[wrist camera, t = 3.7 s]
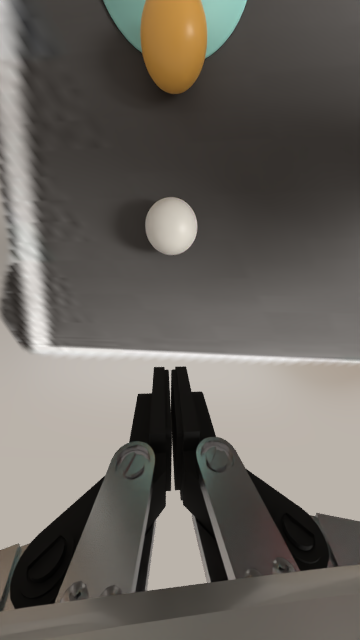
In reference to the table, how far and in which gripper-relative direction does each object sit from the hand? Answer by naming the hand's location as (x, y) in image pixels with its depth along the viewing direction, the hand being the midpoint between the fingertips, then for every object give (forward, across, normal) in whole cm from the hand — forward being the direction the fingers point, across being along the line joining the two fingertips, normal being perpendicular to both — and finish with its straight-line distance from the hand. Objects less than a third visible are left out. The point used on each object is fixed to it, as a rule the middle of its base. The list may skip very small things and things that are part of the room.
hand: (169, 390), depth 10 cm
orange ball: (+14, -1, -24) cm, 27 cm away
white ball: (+14, -1, -10) cm, 17 cm away
